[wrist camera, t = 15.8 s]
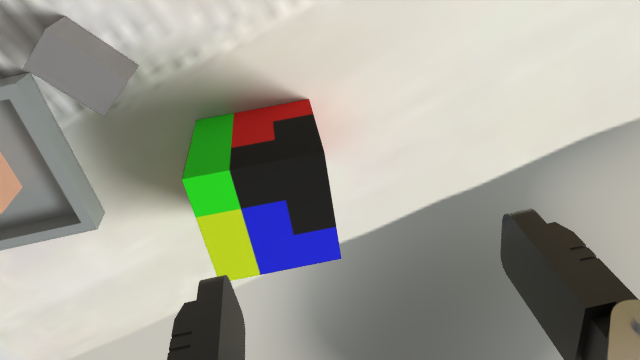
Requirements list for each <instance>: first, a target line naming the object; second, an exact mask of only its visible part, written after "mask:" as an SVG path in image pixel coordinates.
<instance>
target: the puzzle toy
mask: <svg viewBox="0 0 640 360" xmlns="http://www.w3.org/2000/svg"><path fill="white" fill-rule="evenodd" d="M182 181H183V184H184V187H185V190H186V192H187V195H188V198H189V201H190V203H191V206H192V209H193V211H194V214H195V217H196V220H197V222H198V225H199V228H200V231H201V233H202V236H203V239H204V242H205V244H206V247H207V250H208V252H209V255H210V258H211V261H212V263H213V266H214V269H215V272H216V274H217V277H219V276H223V275H227V276H228V278H229V280H230V281H231V280H236V279H241V278H246V277H252V276H257V275H262V274H267V273H272V272H277V271H282V270H287V269H292V268H297V267H302V266H306V265H312V264H317V263H322V262H327V261H331V260H337V259H341V254H340V248H339V242H338V235H337V229H336V223H335V217H334V210H333V204H332V198H331V192H330V185H329V179H328V173H327V167H326V161H325V154H324V150H323V146H322V143H321V139H320V136H319V132H318V129H317V126H316V122H315V119H314V115H313V112H312V108H311V105H310V101H309V99H307V100H302V101H297V102H291V103H286V104H281V105H275V106H270V107H265V108H259V109H254V110H248V111H243V112H238V113H232V114H227V115H222V116H216V117H211V118H206V119H200V120H196V124H195V128H194V132H193V136H192V140H191V144H190V148H189V152H188V156H187V160H186V164H185V168H184V172H183V176H182Z"/></svg>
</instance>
